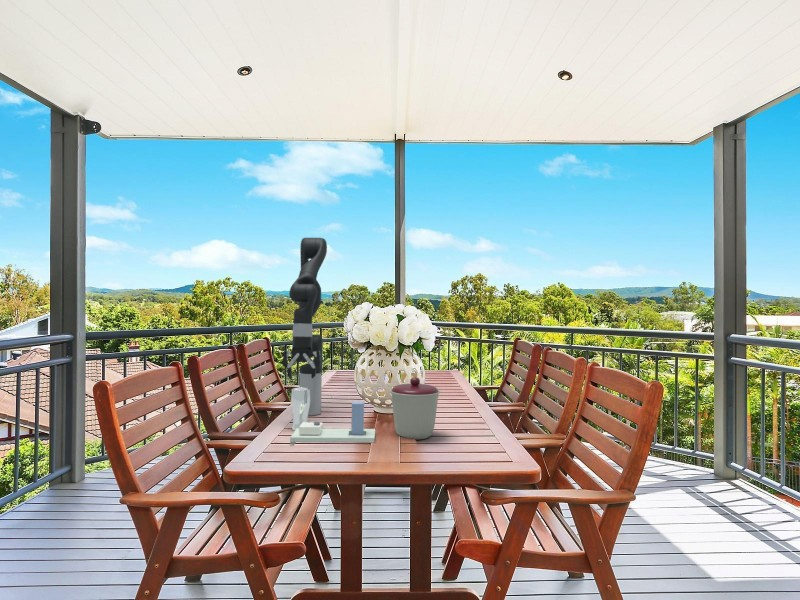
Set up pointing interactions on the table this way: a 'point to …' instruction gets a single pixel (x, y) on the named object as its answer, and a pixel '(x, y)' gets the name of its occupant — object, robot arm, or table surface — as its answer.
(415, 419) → the canister
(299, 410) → the beer glass
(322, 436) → the board
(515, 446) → the table surface
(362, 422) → the peg
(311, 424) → the lid
